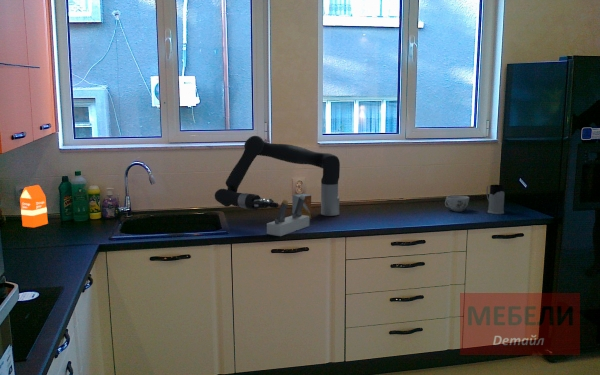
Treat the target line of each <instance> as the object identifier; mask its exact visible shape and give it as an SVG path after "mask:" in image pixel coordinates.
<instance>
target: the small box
mask: <svg viewBox="0 0 600 375" xmlns="http://www.w3.org/2000/svg"><path fill="white" fill-rule="evenodd" d="M301 195H304V196H305V200H304V203H303V206H302V210H301V212H302V215H305V216H309V221H310V220H312V194H307V193H302V194H301V193H299V194H293V195H292V206H291V207H292V210H291V211H292V214H294V212H295V209H296V206H297V203H298V200H299V198H300V196H301ZM292 214H291V215H292Z"/></svg>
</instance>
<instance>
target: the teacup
mask: <svg viewBox="0 0 600 375" xmlns="http://www.w3.org/2000/svg"><path fill="white" fill-rule="evenodd" d="M470 198H471V197H469V196H467V195H458V194H457V195H456V194H450V195H446V198H445V201H444V205H445V207H446V208H449V209H451V211H454V212H463V211H464V210H465V209H466V208H467V206H468V205H469V202H470Z"/></svg>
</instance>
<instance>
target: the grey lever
mask: <svg viewBox="0 0 600 375" xmlns="http://www.w3.org/2000/svg"><path fill="white" fill-rule="evenodd" d="M304 200H305V196H304V195H301V196H300V198H299V200H298V203H297V206H296V209H295V212H294V214H296V217H297V216H300V215H301V210H302V206H303V203H304Z"/></svg>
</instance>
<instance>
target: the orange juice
mask: <svg viewBox="0 0 600 375" xmlns="http://www.w3.org/2000/svg"><path fill="white" fill-rule="evenodd" d="M46 199H47V198H46V195H45V193H44V191H43V189H42V188H41V186H40V185H39V184H35V185H32V186H31V185H30V186H25V187H24V189H23V190H22V193H21V195H20V197H19V200H20V213H21V221H22V223H21V224H22V227H25V228H26V227H27V228H37V227H41V226H44V225H47V224H48V225H49V221H48V208H47V200H46Z"/></svg>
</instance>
